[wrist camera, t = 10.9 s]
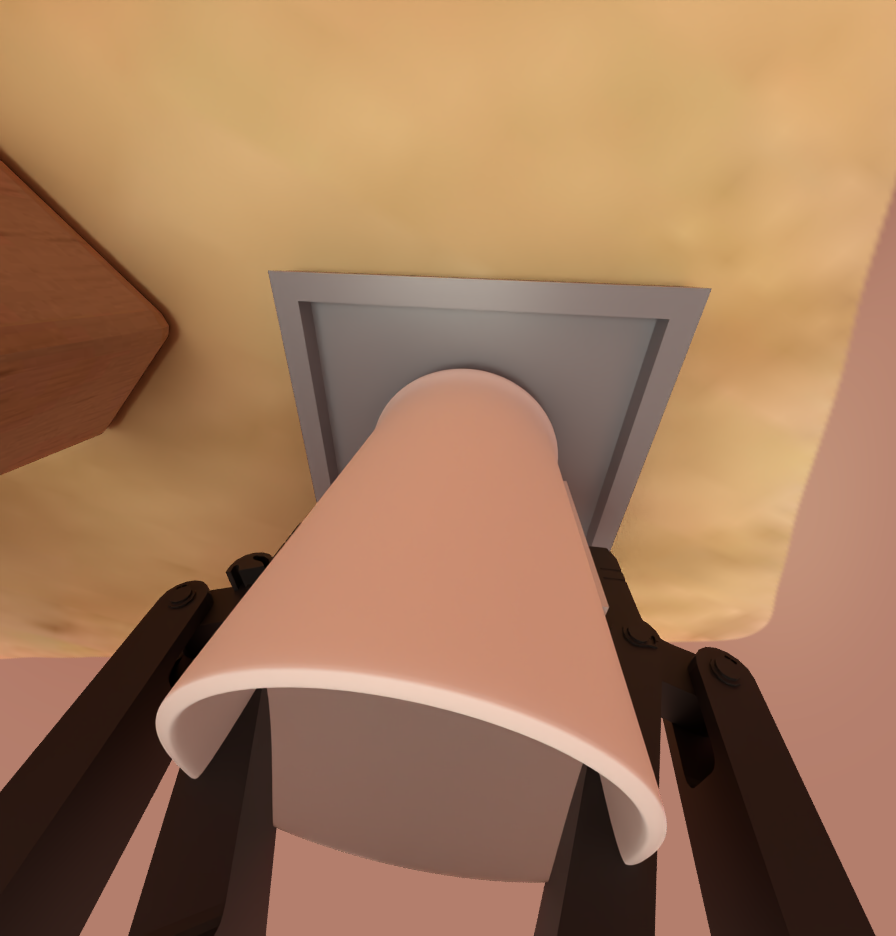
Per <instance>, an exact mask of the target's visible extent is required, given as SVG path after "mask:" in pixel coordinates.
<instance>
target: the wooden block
mask: <svg viewBox="0 0 896 936" xmlns="http://www.w3.org/2000/svg"><path fill="white" fill-rule="evenodd" d="M168 333H169V325H168V324H167V322H166V320H165V319H164V317H163V315H162V314H161V312H159V311H158V310H157V309H156V308H155V307H154V306H153V305H152V304H151V303H150V302H149V301H148V300H147V299H146V298H145V297H144V296H143V295H142V294H141V293H139V292H138V291H137V290H136V289H135V288H134V287H133V286H132V285H131V284H130V283H129V282H128V281H127V280H126V279H125V278H124V277H123V276H122V275H121V274H120V273H118V272H117V271H116V270H115V269H114V268H113V267H112V266H111V265H110V264H109V263H108V262H107V261H106V260H105V259H104V258H103V257H102V256H101V255H100V254H99V253H97V252H96V251H95V250H94V249H93V248H92V247H91V246H90V245H89V244H88V243H87V242H86V241H85V240H84V239H83V238H82V237H81V236H80V235H79V234H77V233H76V232H75V231H74V230H73V229H72V228H71V227H70V226H69V225H68V224H67V223H66V222H65V221H64V220H63V219H62V218H61V217H60V216H59V215H58V214H56V213H55V212H54V211H53V210H52V209H51V208H50V207H49V206H48V205H47V204H46V203H45V202H44V201H43V200H42V199H41V198H40V197H39V196H38V195H37V194H35V193H34V192H33V191H32V190H31V189H30V188H29V187H28V186H27V185H26V184H25V183H24V182H23V181H22V180H21V179H20V178H19V177H18V176H17V175H15V174H14V173H13V172H12V171H11V170H10V169H9V168H8V167H7V166H6V165H5V164H4V163H3V162H2V161H1V160H0V475H2V474H4V473H7V472H9V471H12V470H14V469H17V468H19V467H21V466H24V465H26V464H29V463H31V462H34V461H36V460H39V459H41V458H43V457H46V456H48V455H51V454H53V453H56V452H58V451H61V450H63V449H66V448H68V447H70V446H73V445H75V444H78V443H80V442H83V441H85V440H88V439H90V438H92V437H95V436H97V435H100V434H102V433H103V432H104V431H105V429H106V428H107V427H108V426H109V425H110V423H111V422H112V420H113V419H114V417H115V416H116V414H117V413H118V411H119V410H120V408H121V407H122V405H123V404H124V402H125V401H126V399H127V397H128V396H129V394H130V393H131V391H132V390H133V388H134V387H135V385H136V384H137V382H138V381H139V379H140V378H141V376H142V375H143V373H144V372H145V370H146V369H147V367H148V366H149V364H150V363H151V361H152V360H153V358H154V357H155V355H156V354H157V352H158V351H159V349H160V348H161V346H162V345H163V343H164V342H165V340H166V338H167V337H168Z"/></svg>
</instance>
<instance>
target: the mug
mask: <svg viewBox="0 0 896 936" xmlns="http://www.w3.org/2000/svg"><path fill="white" fill-rule="evenodd" d="M256 688H267V692H268V700H269V710H270V723H271V743H272V807H273V826H274V827H276V828H278V829H280V830H283V831H285V832H288V833H290V834H293V835H295V836H298V837H301V838H303V839H306V840H309V841H312V842H315V843H317V844H320V845H323V846H326V847H329V848H333V849H335V850H338V851H342V852H345V853H348V854H352V855H355V856H359V857H363V858H366V859H370V860H374V861H378V862H382V863H386V864H390V865H394V866H399V867H403V868H408V869H414V870H418V871H424V872H429V873H435V874H441V875H447V876H455V877H462V878H470V879H479V880H490V881H504V882H548V880H549V878H550V874H551V871H552V867H553V864H554V860H555V857H556V853H557V849H558V846H559V842H560V838H561V835H562V831H563V828H564V824H565V821H566V817H567V814H568V810H569V807H570V803H571V800H572V797H573V793H574V790H575V787H576V783H577V780H578V777H579V774H580V771H581V768H582V765H583V763H584V764H585V765H587V766H589V767H590V768H592V769H593V770H595V771H597V772H598V773H599V774H600V778H601V782H602V787H603V791H604V795H605V800H606V804H607V808H608V812H609V816H610V820H611V824H612V827H613V831H614V835H615V838H616V842H617V845H618V848H619V851H620V854H621V857H622V859H623V861H624V863H625V864H626V865H635V864H638V863H640V862H642V861H644V860H645V859H647V858H648V857H650V856H651V855H652V854H654V853H655V852H656V851H657V850H658V848H659V847H660V846H661V844H662V843H663V840H664V838H665V835H666V830H667V820H666V815H665V810H664V806H663V803H662V799H661V796H660V792H659V789H658V785H657V782H656V779H655V775H654V772H653V769H652V766H651V762H650V759H649V756H648V753H647V749H646V746H645V743H644V740H643V737H642V733H641V730H640V727H639V724H638V720H637V717H636V714H635V711H634V708H633V704H632V701H631V698H630V695H629V691H628V688H627V685H626V682H625V679H624V675H623V672H622V669H621V666H620V663H619V659H618V656H617V653H616V650H615V646H614V643H613V640H612V637H611V634H610V630H609V627H608V624H607V621H606V617H605V614H604V611H603V608H602V605H601V601H600V598H599V595H598V592H597V589H596V585H595V582H594V579H593V576H592V572H591V569H590V566H589V563H588V560H587V556H586V553H585V550H584V547H583V543H582V540H581V537H580V534H579V531H578V527H577V524H576V521H575V518H574V515H573V511H572V508H571V505H570V502H569V498H568V495H567V492H566V489H565V486H564V482H563V479H562V476H561V473H560V469H559V466H558V447H557V441H556V436H555V433H554V430H553V427H552V424H551V422H550V420H549V418H548V416H547V415H546V413H545V412H544V410H543V409H542V407H541V406H540V405H539V403H538V402H537V401H536V400H535V399H534V398H533V397H532V396H531V395H530V394H529V393H528V392H526V391H525V390H524V389H523V388H521V387H520V386H518V385H517V384H515V383H513V382H512V381H510V380H508V379H506V378H504V377H501V376H499V375H496V374H493V373H490V372H486V371H481V370H475V369H448V370H442V371H437V372H434V373H430V374H428V375H425V376H422V377H420V378H418V379H416V380H414V381H413V382H411V383H409V384H408V385H406V386H405V387H404V388H402V389H401V390H400V391H399V392H398V393H397V394H396V395H395V396H394V397H393V398H392V399H391V400H390V401H389V402H388V404H387V405H386V407H385V408H384V410H383V411H382V413H381V415H380V417H379V419H378V422H377V425H376V428H375V430H374V431H373V432H372V434H371V435H370V436H369V437H368V439H367V440H366V441H365V443H364V444H363V445H362V446H361V448H360V449H359V450H358V452H357V453H356V454H355V455H354V457H353V458H352V459H351V460H350V462H349V463H348V464H347V466H346V467H345V468H344V469H343V471H342V472H341V473H340V474H339V476H338V477H337V478H336V480H335V481H334V482H333V483H332V485H331V486H330V487H329V488H328V490H327V491H326V492H325V494H324V495H323V496H322V497H321V499H320V500H319V501H318V502H317V504H316V505H315V506H314V508H313V509H312V510H311V511H310V513H309V514H308V515H307V517H306V518H305V519H304V520H303V522H302V523H301V524H300V525H299V527H298V528H297V529H296V531H295V532H294V533H293V534H292V536H291V537H290V538H289V539H288V541H287V542H286V543H285V545H284V546H283V547H282V548H281V550H280V551H279V552H278V553H277V555H276V556H275V557H274V559H273V560H272V561H271V562H270V564H269V565H268V566H267V567H266V569H265V570H264V571H263V573H262V574H261V575H260V576H259V578H258V579H257V580H256V581H255V583H254V584H253V585H252V587H251V588H250V589H249V590H248V592H247V593H246V594H245V595H244V597H243V598H242V599H241V601H240V602H239V603H238V604H237V606H236V607H235V608H234V609H233V611H232V612H231V613H230V615H229V616H228V617H227V618H226V620H225V621H224V622H223V623H222V625H221V626H220V627H219V629H218V630H217V631H216V632H215V634H214V635H213V636H212V638H211V639H210V640H209V641H208V643H207V644H206V645H205V646H204V648H203V649H202V650H201V652H200V653H199V654H198V655H197V657H196V658H195V659H194V660H193V662H192V663H191V664H190V666H189V667H188V668H187V669H186V671H185V672H184V673H183V675H182V676H181V677H180V679H179V680H178V681H177V682H176V684H175V685H174V686H173V688H172V689H171V690H170V692H169V693H168V695H167V696H166V697H165V699H164V700H163V702H162V703H161V705H160V707H159V709H158V712H157V716H156V731H157V735H158V738H159V740H160V742H161V744H162V746H163V747H164V749H165V750H166V752H167V753H168V755H169V756H170V757H171V758H172V759H173V760H174V762H175V763H176V764H177V765H178V766H179V767H180V768H181V769H182V770H183V771H184V772H185V773H186V774H187V775H188V776H189V777H191V778H193V779H196V778H198V777H199V776H200V775H201V773H202V772H203V771H204V770H205V768H206V767H207V765H208V764H209V763H210V761H211V760H212V758H213V757H214V755H215V754H216V752H217V751H218V749H219V748H220V746H221V745H222V743H223V741H224V740H225V738H226V737H227V735H228V734H229V732H230V730H231V729H232V727H233V726H234V724H235V722H236V721H237V719H238V718H239V716H240V714H241V713H242V711H243V709H244V708H245V706H246V705H247V703H248V701H249V700H250V698H251V696H252V695H253V693H254V691H255V690H256Z"/></svg>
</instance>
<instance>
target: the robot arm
mask: <svg viewBox="0 0 896 936" xmlns="http://www.w3.org/2000/svg"><path fill="white" fill-rule="evenodd" d="M563 482H564V486H565V489H566V492H567V495H568V498H569V502H570V505H571V508H572V511H573V515H574V518H575V521H576V524H577V527H578V531H579V534H580V537H581V540H582V543H583V547H584V550H585V553H586V556H587V560H588V563H589V566H590V569H591V572H592V576H593V579H594V582H595V585H596V589H597V592H598V595H599V598H600V601H601V605H602V608H603V611H604V614H605V617H606V621H607V624H608V627H609V630H610V634H611V637H612V640H613V643H614V646H615V650H616V653H617V656H618V659H619V663H620V666H621V669H622V672H623V675H624V679H625V682H626V685H627V688H628V691H629V695H630V698H631V701H632V704H633V708H634V711H635V714H636V717H637V720H638V724H639V727H640V730H641V733H642V737H643V740H644V743H645V746H646V749H647V753H648V756H649V759H650V762H651V766H652V769H653V772H654V775H655V779H656V782H657V785H658V789H659V768H660V767H659V766H660V733H661V732H660V731H661V718H663V722H664V726H665V731H666V735H667V740H668V744H669V748H670V753H671V757H672V762H673V767H674V771H675V776H676V780H677V784H678V789H679V794H680V798H681V803H682V807H683V812H684V816H685V821H686V825H687V830H688V834H689V839H690V843H691V847H692V852H693V857H694V861H695V866H696V870H697V874H698V879H699V884H700V888H701V893H702V897H703V902H704V906H705V911H706V915H707V920H708V924H709V928H710V933H711V936H875V934H874V932H873V929H872V927H871V925H870V923H869V921H868V919H867V917H866V915H865V913H864V910H863V908H862V906H861V904H860V902H859V900H858V898H857V895H856V893H855V891H854V889H853V887H852V885H851V883H850V881H849V878H848V876H847V874H846V872H845V870H844V868H843V866H842V864H841V862H840V859H839V857H838V855H837V853H836V851H835V849H834V847H833V845H832V843H831V840H830V838H829V836H828V834H827V832H826V830H825V828H824V825H823V823H822V822H821V819H820V817H819V815H818V813H817V811H816V808H815V806H814V804H813V802H812V800H811V798H810V796H809V794H808V791H807V789H806V787H805V785H804V783H803V781H802V779H801V777H800V775H799V773H798V770H797V768H796V766H795V764H794V762H793V760H792V758H791V755H790V753H789V751H788V749H787V747H786V745H785V743H784V740H783V738H782V736H781V734H780V732H779V730H778V728H777V726H776V724H775V721H774V719H773V717H772V715H771V713H770V711H769V709H768V706H767V704H766V702H765V700H764V698H763V696H762V694H761V692H760V690H759V687H758V685H757V683H756V681H755V679H754V678H753V676H752V675H751V673H750V671H749V670H748V669H747V668H746V667H745V666H744V665H743V664H742V663H741V662H740V661H739V660H738V659H736V658H734V657H733V656H732V655H730V654H729V653H727V652H725V651H722V650H720V649H717V648H711V647H705V648H702V649H700V650H698V652H697V653H696V654H694V653H691V652H689V651H686V650H684V649H681V648H679V647H676V646H674V645H672V644H670V643H668V642H666V641H664V640H662V639H661V638H660V637H659V635H658V634H657V632H656V631H655V630H654V629H653V628H652V627H651V626H650V625H649V624H648V623H646V622H644V621H643V620H642V618H641V616H640V614H639V611H638V609H637V607H636V604H635V602H634V600H633V597H632V595H631V592H630V590H629V588H628V585H627V583H626V582H625V578H624V576H623V573H622V572H621V569H620V566H619V564H618V561H617V559H616V558H615V557H614V556H613V555H612V553H611V552H610V551H609V550H608V549H607V548H603V547H594V546H588V544H587V541H586V538H585V535H584V532H583V529H582V526H581V523H580V520H579V517H578V514H577V511H576V508H575V505H574V502H573V499H572V496H571V493H570V490H569V487H568V484H567V481H563ZM301 523H302V522H301ZM301 523H300V524H301ZM300 524H299V525H300ZM299 525H298V526H297V527H296V528H295V530H294V531H293V532H292V534H293V533H294V532H295V531H296V529H297V528H298V527H299ZM291 536H292V535H290V536H289V537H288V539H289V538H290V537H291ZM288 539H287V540H286V542H287V541H288ZM284 545H285V543H284V544H283V545H282V546H281V548H282V547H283V546H284ZM281 548H280V549H279V550H278V551H277V553H278V552H279V551H280V550H281ZM277 553H276V554H275V555H274V557H275V556H276V555H277ZM274 557H272V556H271V555H270V554H266V553H252V554H249V555H245V556H243V557H242V558H240V559H238V560H236V561H235V562H234V563H233V564H232V565H230V567H229V568H228V570H227V571H226V574H227V576H228V578H229V581H230V583H231V585H232V587H230V588H223V589H216V590H209V588H208V586H207V585H206V584H205V583H204V582H202V581H196V580H195V581H189V582H185V583H182V584H179V585H177V586H175V587H173V588H172V589H170V590H168V591H167V592H166V593H165V594H164V595H163V596H162V597H161V598H160V599H159V600H158V601H157V602H156V603H155V605H154V606H153V607H152V608H151V610H150V611H149V612H148V613H147V614H146V616H145V617H144V618H143V619H142V620H141V622H140V623H139V624H138V625H137V627H136V628H135V629H134V630H133V631H132V633H131V634H130V635H129V636H128V637H127V639H126V640H125V641H124V642H123V644H122V645H121V646H120V647H119V648H118V650H117V651H116V652H115V653H114V654H113V656H112V657H111V658H110V659H109V661H108V662H107V663H106V664H105V665H104V667H103V668H102V669H101V670H100V672H99V673H98V674H97V675H96V676H95V678H94V679H93V680H92V681H91V682H90V684H89V685H88V686H87V687H86V689H85V690H84V691H83V692H82V693H81V695H80V696H79V697H78V698H77V700H76V701H75V702H74V703H73V704H72V706H71V707H70V708H69V709H68V710H67V712H66V713H65V714H64V715H63V717H62V718H61V719H60V720H59V722H58V723H57V724H56V725H55V726H54V727H53V729H52V730H51V731H50V732H49V733H48V735H47V736H46V737H45V739H44V740H43V741H42V742H41V743H40V744H39V746H38V747H37V748H36V749H35V750H34V752H33V753H32V754H31V755H30V757H29V758H28V759H27V760H26V762H25V763H24V764H23V765H22V766H21V768H20V769H19V770H18V771H17V772H16V774H15V775H14V776H13V777H12V778H11V780H10V781H9V782H8V783H7V785H6V786H5V787H4V788H3V789H2V791H1V792H0V936H79V935H80V933H81V931H82V929H83V927H84V926H85V923H86V922H87V920H88V918H89V916H90V914H91V912H92V910H93V908H94V907H95V905H96V903H97V901H98V899H99V897H100V895H101V893H102V891H103V889H104V887H105V886H106V884H107V882H108V880H109V878H110V876H111V874H112V872H113V870H114V869H115V867H116V865H117V863H118V861H119V859H120V857H121V855H122V853H123V851H124V850H125V848H126V846H127V844H128V842H129V840H130V838H131V836H132V834H133V833H134V830H135V829H136V827H137V825H138V823H139V821H140V819H141V817H142V815H143V814H144V812H145V809H146V808H147V806H148V804H149V802H150V800H151V798H152V796H153V794H154V793H155V791H156V789H157V787H158V785H159V783H160V781H161V779H162V777H163V775H164V774H165V772H166V770H167V768H168V766H169V764H170V762H171V760H172V758H171V757H170V756H169V755H168V753H167V752H166V750H165V749H164V747H163V746H162V744H161V742H160V740H159V738H158V735H157V731H156V716H157V712H158V709H159V707H160V705H161V703H162V702H163V700H164V699H165V697H166V696H167V695H168V693H169V692H170V690H171V689H172V688H173V686H174V685H175V684H176V682H177V681H178V680H179V679H180V677H181V676H182V675H183V673H184V672H185V671H186V669H187V668H188V667H189V666H190V664H191V663H192V662H193V660H194V659H195V658H196V657H197V655H198V654H199V653H200V652H201V650H202V649H203V648H204V646H205V645H206V644H207V643H208V641H209V640H210V639H211V638H212V636H213V635H214V634H215V632H216V631H217V630H218V629H219V627H220V626H221V625H222V623H223V622H224V621H225V620H226V618H227V617H228V616H229V615H230V613H231V612H232V611H233V609H234V608H235V607H236V606H237V604H238V603H239V602H240V601H241V599H242V598H243V597H244V595H245V594H246V593H247V592H248V590H249V589H250V588H251V587H252V585H253V584H254V583H255V581H256V580H257V579H258V578H259V576H260V575H261V574H262V573H263V571H264V570H265V569H266V567H267V566H268V565H269V564H270V562H271V561H272V560H273V559H274ZM275 837H276V827H274V826H273V807H272V743H271V723H270V710H269V700H268V692H267V688H256V690H255V691H254V693H253V695H252V696H251V698H250V700H249V701H248V703H247V705H246V706H245V708H244V709H243V711H242V713H241V714H240V716H239V718H238V719H237V721H236V722H235V724H234V726H233V727H232V729H231V730H230V732H229V734H228V735H227V737H226V738H225V740H224V741H223V743H222V745H221V746H220V748H219V749H218V751H217V752H216V754H215V755H214V757H213V758H212V760H211V761H210V763H209V764H208V765H207V767H206V768H205V770H204V771H203V772H202V773H201V775H200V776H199V777H198V778H196V779H193V778H191V777H189V776H188V775H187V774H186V773H185V772H184V771H183V770H182V769H181V768H180V769H179V772H178V775H177V778H176V782H175V785H174V788H173V792H172V795H171V798H170V802H169V805H168V808H167V811H166V814H165V818H164V821H163V824H162V828H161V831H160V834H159V837H158V840H157V844H156V847H155V850H154V854H153V857H152V860H151V863H150V867H149V870H148V874H147V876H146V880H145V883H144V886H143V889H142V893H141V896H140V900H139V903H138V906H137V909H136V912H135V915H134V919H133V922H132V925H131V928H130V932H129V935H128V936H266V925H267V916H268V915H267V914H268V905H269V896H270V885H271V876H272V866H273V856H274V846H275ZM656 871H657V851H656V852H655V853H654V854H652V855H651V856H650V857H648V858H647V859H645V860H644V861H642V862H640V863H638V864H635V865H626V864H625V863H624V861H623V859H622V857H621V854H620V851H619V848H618V845H617V842H616V838H615V835H614V831H613V827H612V824H611V820H610V816H609V812H608V808H607V804H606V800H605V795H604V791H603V787H602V782H601V778H600V774H599V773H598V772H597V771H595V770H593V769H592V768H590V767H589V766H587V765H585V764H584V763H583V765H582V768H581V771H580V774H579V777H578V780H577V783H576V787H575V790H574V793H573V797H572V800H571V803H570V807H569V810H568V814H567V817H566V821H565V824H564V828H563V831H562V835H561V838H560V842H559V846H558V849H557V853H556V857H555V860H554V864H553V867H552V871H551V874H550V878H549V880H548V882H545V886H544V891H543V895H542V900H541V905H540V910H539V914H538V919H537V924H536V928H535V933H534V936H655V906H656V905H655V904H656Z"/></svg>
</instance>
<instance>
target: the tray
mask: <svg viewBox="0 0 896 936" xmlns="http://www.w3.org/2000/svg"><path fill="white" fill-rule="evenodd" d="M268 273H269V278H270V282H271V287H272V292H273V297H274V302H275V306H276V311H277V316H278V321H279V325H280V330H281V335H282V340H283V344H284V349H285V354H286V359H287V363H288V368H289V373H290V378H291V382H292V387H293V392H294V397H295V401H296V406H297V411H298V416H299V420H300V425H301V430H302V435H303V440H304V444H305V449H306V454H307V459H308V463H309V468H310V473H311V478H312V482H313V487H314V492H315V497H316V501H317V502H318V501H319V500H320V499H321V497H322V496H323V495H324V494H325V492H326V491H327V490H328V488H329V487H330V486H331V485H332V483H333V482H334V481H335V480H336V478H337V477H338V476H339V474H340V473H341V472H342V471H343V469H344V468H345V467H346V466H347V464H348V463H349V462H350V460H351V459H352V458H353V457H354V455H355V454H356V453H357V452H358V450H359V449H360V448H361V446H362V445H363V444H364V443H365V441H366V440H367V439H368V437H369V436H370V435H371V434H372V432H373V431H374V430H375V428H376V425H377V422H378V419H379V417H380V415H381V413H382V411H383V410H384V408H385V407H386V405H387V404H388V402H389V401H390V400H391V399H392V398H393V397H394V396H395V395H396V394H397V393H398V392H399V391H400V390H401V389H402V388H404V387H405V386H406V385H408V384H409V383H411V382H413V381H414V380H416V379H418V378H420V377H422V376H425V375H428V374H430V373H434V372H437V371H442V370H448V369H475V370H481V371H486V372H490V373H493V374H496V375H499V376H501V377H504V378H506V379H508V380H510V381H512V382H513V383H515V384H517V385H518V386H520V387H521V388H523V389H524V390H525V391H526V392H528V393H529V394H530V395H531V396H532V397H533V398H534V399H535V400H536V401H537V402H538V403H539V405H540V406H541V407H542V409H543V410H544V412H545V413H546V415H547V416H548V418H549V420H550V422H551V424H552V427H553V430H554V433H555V436H556V441H557V447H558V466H559V469H560V473H561V476H562V479H563V481H567V484H568V487H569V490H570V493H571V496H572V499H573V502H574V505H575V508H576V511H577V514H578V517H579V520H580V523H581V526H582V529H583V532H584V535H585V538H586V541H587V544H588V546H594V547H603V548H607V549H608V550H609V551H610V550H611V547H612V545H613V542H614V540H615V537H616V534H617V532H618V529H619V527H620V524H621V522H622V519H623V516H624V514H625V511H626V509H627V506H628V503H629V501H630V498H631V496H632V493H633V491H634V488H635V485H636V483H637V480H638V478H639V475H640V472H641V470H642V467H643V465H644V462H645V460H646V457H647V454H648V452H649V449H650V447H651V444H652V441H653V439H654V436H655V434H656V431H657V429H658V426H659V423H660V421H661V418H662V416H663V413H664V410H665V408H666V405H667V403H668V400H669V398H670V395H671V392H672V390H673V387H674V385H675V382H676V379H677V377H678V374H679V372H680V369H681V367H682V364H683V361H684V359H685V356H686V354H687V351H688V348H689V346H690V343H691V341H692V338H693V336H694V333H695V330H696V328H697V325H698V323H699V320H700V317H701V315H702V312H703V310H704V307H705V304H706V302H707V299H708V297H709V294H710V292H711V289H710V288H696V287H680V286H655V285H631V284H606V283H581V282H556V281H531V280H506V279H481V278H456V277H432V276H407V275H382V274H357V273H332V272H307V271H268Z"/></svg>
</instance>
